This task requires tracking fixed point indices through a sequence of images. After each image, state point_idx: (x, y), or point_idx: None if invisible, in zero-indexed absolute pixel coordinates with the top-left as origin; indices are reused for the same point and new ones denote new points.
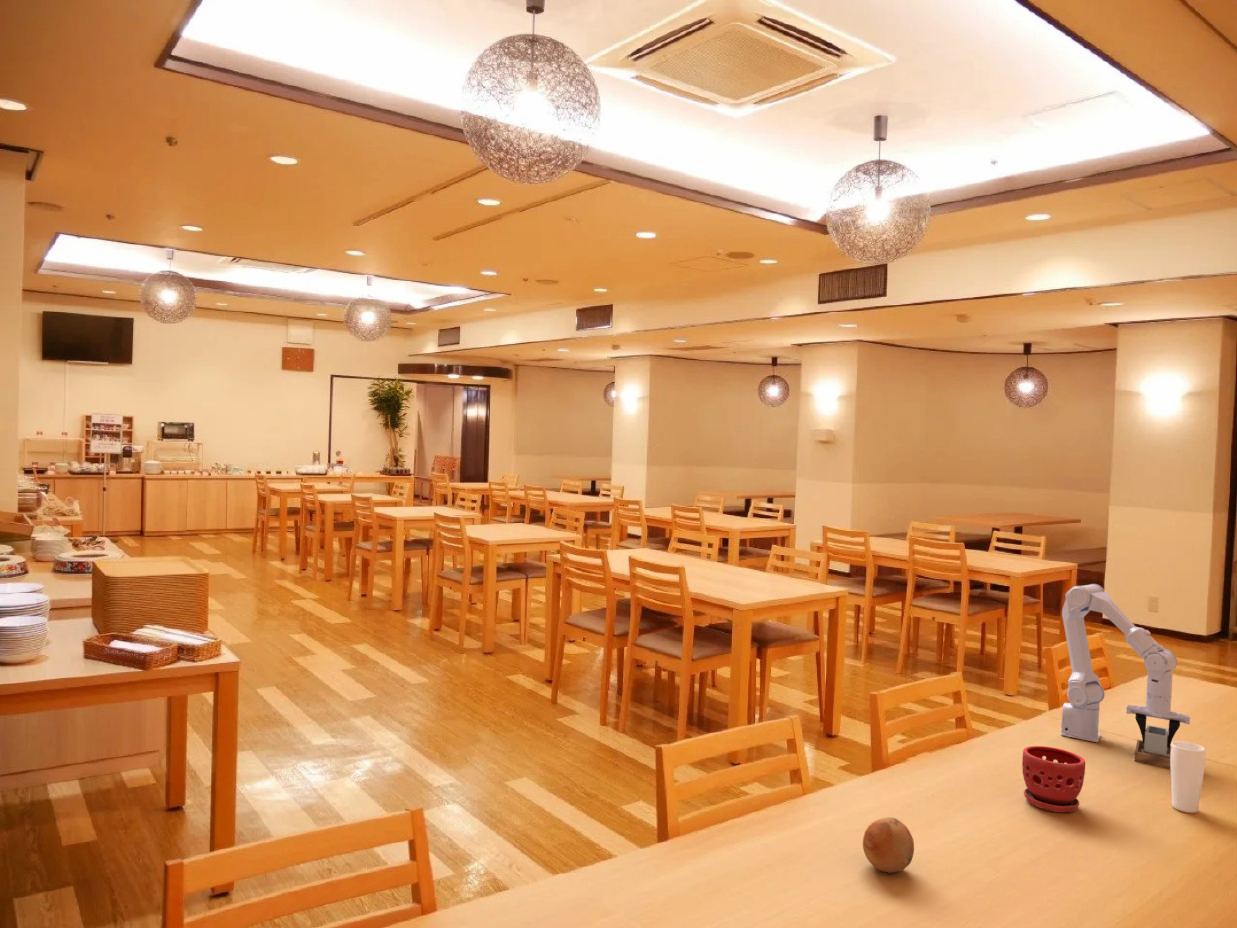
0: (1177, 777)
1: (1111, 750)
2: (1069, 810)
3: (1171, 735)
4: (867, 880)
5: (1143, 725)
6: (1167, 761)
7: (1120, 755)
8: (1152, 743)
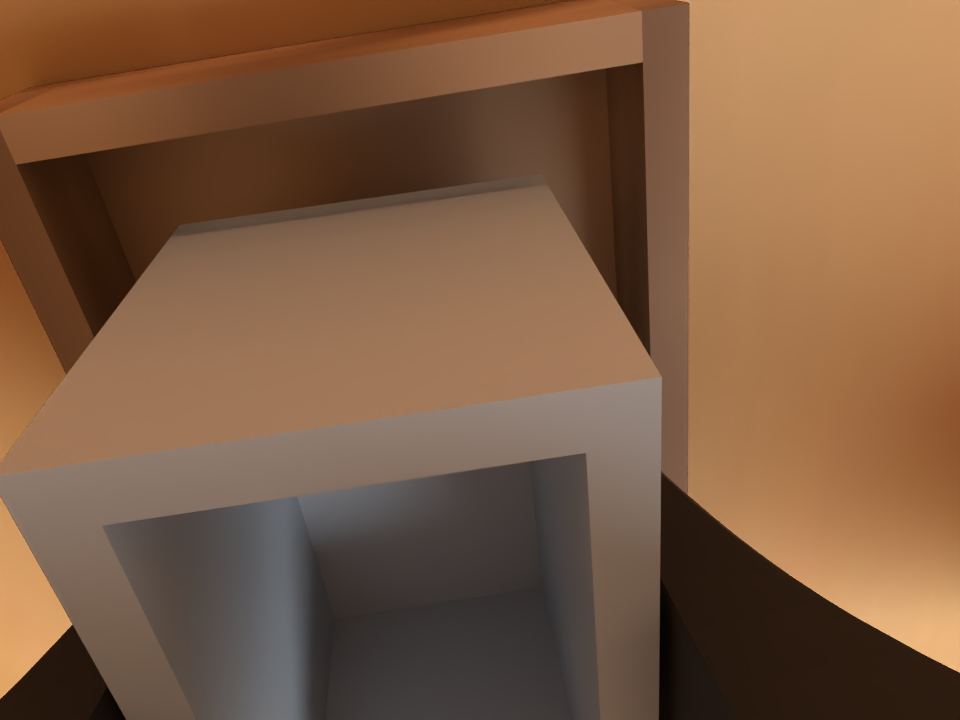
0: None
1: (938, 256)
2: None
3: (31, 704)
4: None
5: (786, 683)
6: (110, 85)
7: (833, 124)
8: (413, 271)
